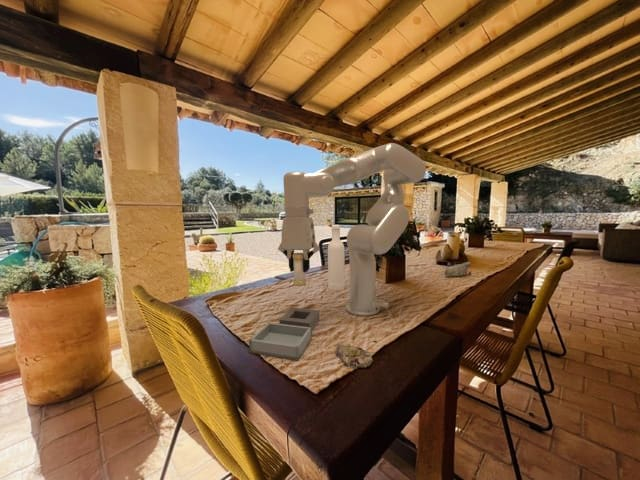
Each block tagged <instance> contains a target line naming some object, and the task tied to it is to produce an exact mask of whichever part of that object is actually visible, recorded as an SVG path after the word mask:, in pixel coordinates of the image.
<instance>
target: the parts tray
mask: <svg viewBox="0 0 640 480" xmlns="http://www.w3.org/2000/svg"><path fill="white" fill-rule="evenodd" d="M312 340H313V330H312V328H311V327H302V326H294V325H286V324H280V323H275V322H267V323H266V324H265V325H264V326H263V327H261V329H259V331H257V332H256V333H255V334H254V335H253V336H252V337H251V338H250V339H248V348H249V349H248V350H249V353H251V354H256V355H263V356H270V357H276V358H282V359H287V360H293V361H294V360H295V361H299V360H300V359H301V358H302V355H304V352H305V351H306V349H307V347H308V346H309V344H310V343H311V341H312Z"/></svg>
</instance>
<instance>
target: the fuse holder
mask: <svg viewBox="0 0 640 480" xmlns="http://www.w3.org/2000/svg"><path fill="white" fill-rule="evenodd" d="M278 321H279V324H286V325H294V326H302V327H311V328H312V331H314V329H315V327H316V326H317V324H318V323H319V322H320V310H319V309H318V310H316V309H310V308H309V309H307V308H298V307H291V308H290V309H289V310H288V311H287V312H285V314H283V316H281V317H280V318H279V320H278Z"/></svg>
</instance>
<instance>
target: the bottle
mask: <svg viewBox="0 0 640 480" xmlns="http://www.w3.org/2000/svg"><path fill="white" fill-rule="evenodd" d="M340 226H341V225H340V224H332V225H331V240H330V242H328V246H327V283H328V284H327V286H328V290H329V291H333V292H334V291H335V292H339V291H344V290H345V287H346V281H345V280H346V277H345V273H346V272H345V245H344V242H342V241H341V236H340V235H341V232H340V231H341V227H340Z"/></svg>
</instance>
